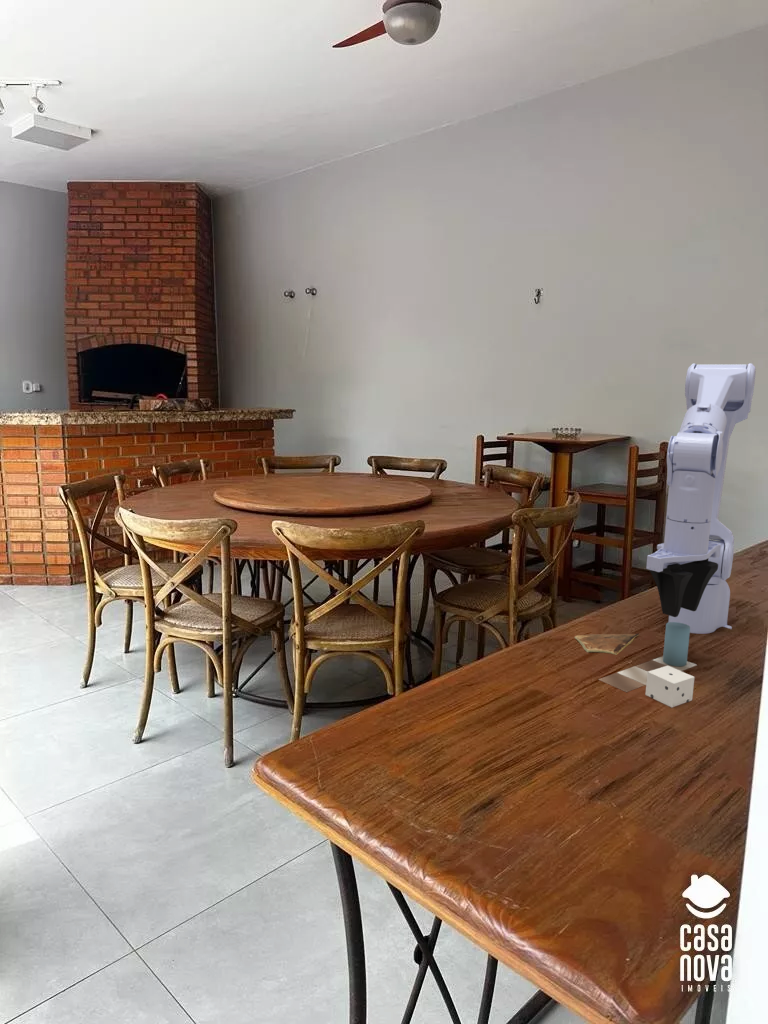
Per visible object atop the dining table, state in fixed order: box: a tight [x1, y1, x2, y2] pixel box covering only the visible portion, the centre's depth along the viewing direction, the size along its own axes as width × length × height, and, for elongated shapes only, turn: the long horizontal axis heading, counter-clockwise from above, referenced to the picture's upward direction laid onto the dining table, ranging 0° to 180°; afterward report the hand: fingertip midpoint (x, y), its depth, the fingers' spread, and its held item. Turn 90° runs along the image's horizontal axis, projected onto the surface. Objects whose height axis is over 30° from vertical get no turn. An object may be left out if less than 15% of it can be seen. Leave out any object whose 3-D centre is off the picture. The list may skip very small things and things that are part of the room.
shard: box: [574, 633, 640, 656], centre depth 106 cm, size 11×8×2 cm
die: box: [645, 666, 695, 708], centre depth 89 cm, size 4×4×4 cm
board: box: [598, 655, 697, 693], centre depth 96 cm, size 16×5×1 cm, turn 124°
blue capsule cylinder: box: [662, 621, 691, 666], centre depth 99 cm, size 3×3×6 cm
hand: (679, 611), depth 98 cm, fingers open, 4 cm apart
